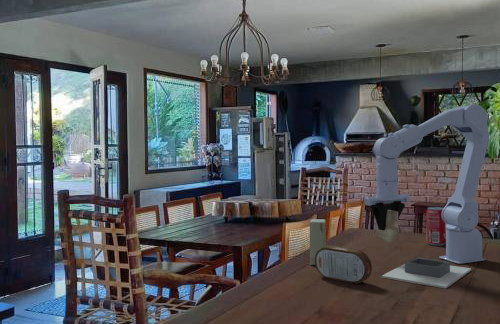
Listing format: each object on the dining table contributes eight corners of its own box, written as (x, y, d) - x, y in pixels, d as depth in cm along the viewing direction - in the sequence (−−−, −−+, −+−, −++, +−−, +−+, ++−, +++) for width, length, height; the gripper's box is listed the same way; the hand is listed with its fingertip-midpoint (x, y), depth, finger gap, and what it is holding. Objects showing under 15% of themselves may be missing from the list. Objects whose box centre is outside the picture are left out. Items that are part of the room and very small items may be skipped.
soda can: (424, 244, 166) (424, 208, 166) (428, 241, 172) (428, 206, 171) (444, 246, 163) (444, 209, 163) (448, 243, 169) (448, 207, 168)
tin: (372, 284, 124) (372, 249, 123) (366, 287, 121) (366, 252, 121) (319, 274, 133) (319, 242, 133) (313, 277, 131) (312, 244, 131)
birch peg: (386, 237, 145) (385, 209, 145) (398, 240, 141) (398, 211, 140) (376, 238, 144) (376, 210, 143) (388, 241, 139) (388, 212, 139)
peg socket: (412, 261, 145) (412, 251, 144) (471, 270, 134) (471, 259, 134) (381, 277, 129) (381, 265, 129) (445, 288, 119) (445, 275, 119)
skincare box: (325, 266, 142) (324, 222, 141) (309, 265, 143) (309, 222, 142) (326, 260, 148) (326, 218, 147) (311, 260, 149) (311, 218, 148)
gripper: (396, 178, 148) (397, 224, 149) (357, 181, 142) (357, 229, 142) (414, 179, 142) (414, 228, 143) (373, 182, 135) (374, 233, 136)
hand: (387, 229), depth 142 cm, fingers closed on birch peg, 3 cm apart
